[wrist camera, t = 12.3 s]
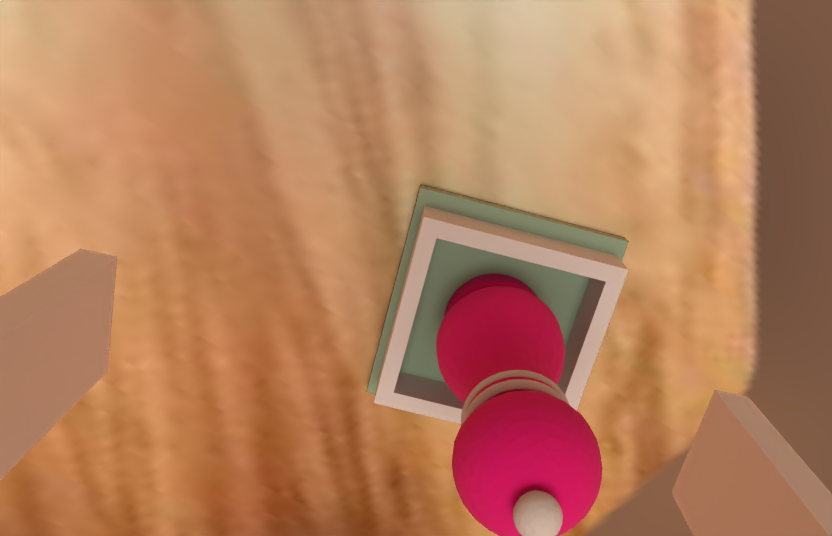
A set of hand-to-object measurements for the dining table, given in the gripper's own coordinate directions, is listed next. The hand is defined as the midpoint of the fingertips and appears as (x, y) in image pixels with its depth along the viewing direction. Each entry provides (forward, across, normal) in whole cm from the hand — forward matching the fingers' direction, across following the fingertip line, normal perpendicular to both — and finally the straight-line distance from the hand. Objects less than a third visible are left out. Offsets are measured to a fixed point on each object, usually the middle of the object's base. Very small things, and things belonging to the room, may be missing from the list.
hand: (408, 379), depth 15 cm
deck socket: (+27, +6, -9) cm, 29 cm away
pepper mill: (+26, +6, -9) cm, 29 cm away
